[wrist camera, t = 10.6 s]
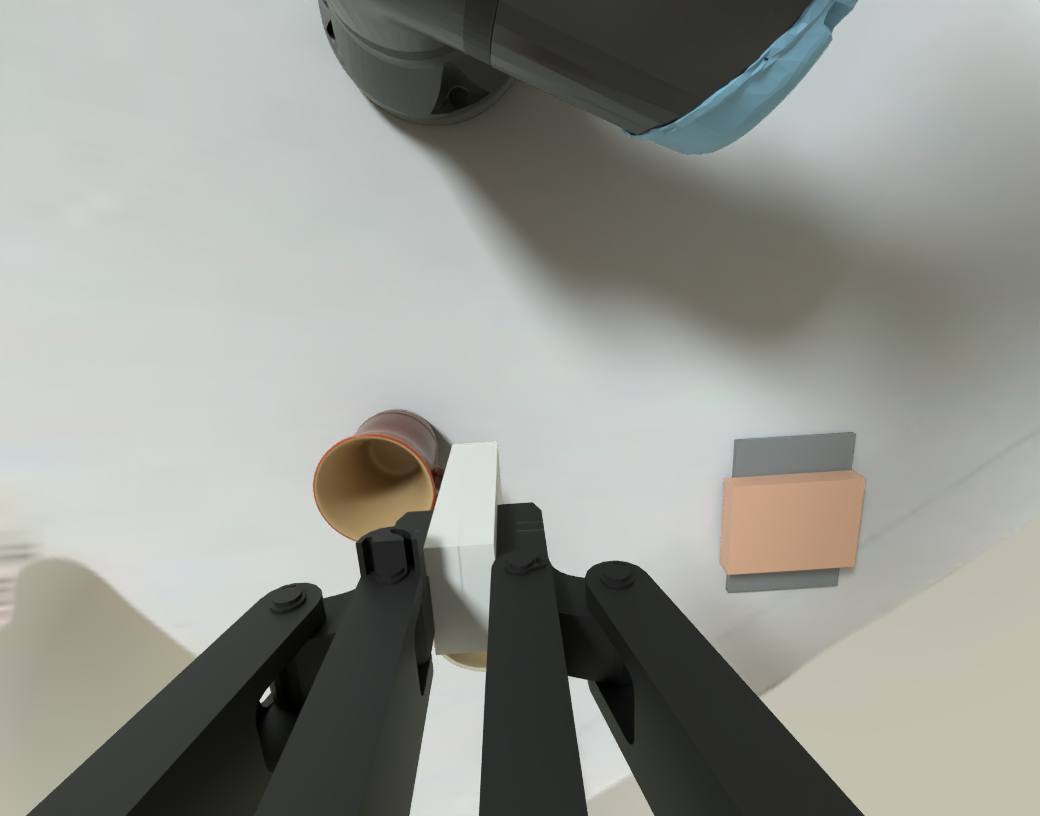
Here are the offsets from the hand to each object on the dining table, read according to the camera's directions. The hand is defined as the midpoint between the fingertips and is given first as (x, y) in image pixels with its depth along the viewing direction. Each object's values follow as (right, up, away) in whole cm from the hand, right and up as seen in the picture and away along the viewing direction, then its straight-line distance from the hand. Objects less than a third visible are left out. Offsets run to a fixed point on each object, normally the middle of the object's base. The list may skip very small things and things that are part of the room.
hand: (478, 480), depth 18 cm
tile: (+21, -9, +32) cm, 39 cm away
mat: (+27, -8, +34) cm, 44 cm away
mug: (-8, -1, +31) cm, 32 cm away
